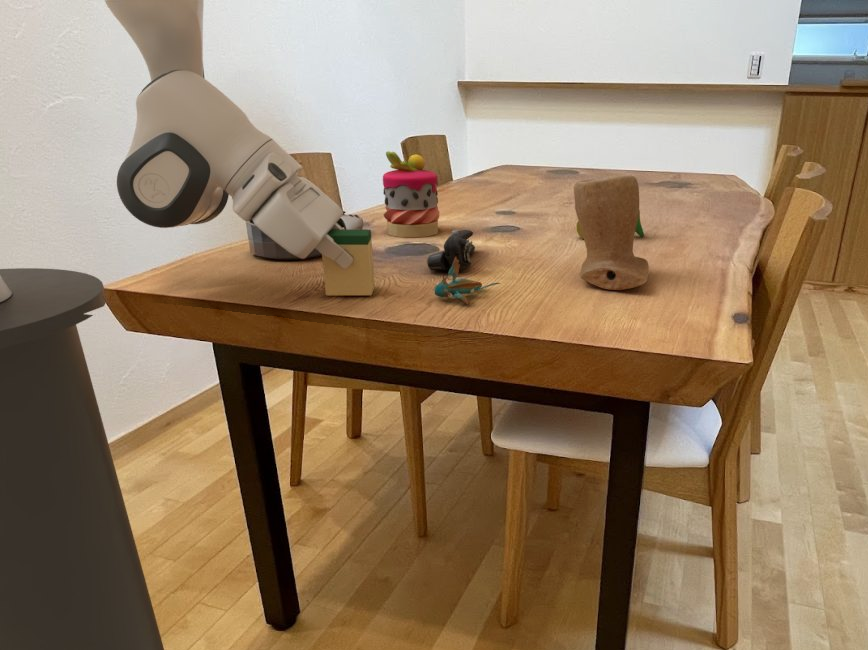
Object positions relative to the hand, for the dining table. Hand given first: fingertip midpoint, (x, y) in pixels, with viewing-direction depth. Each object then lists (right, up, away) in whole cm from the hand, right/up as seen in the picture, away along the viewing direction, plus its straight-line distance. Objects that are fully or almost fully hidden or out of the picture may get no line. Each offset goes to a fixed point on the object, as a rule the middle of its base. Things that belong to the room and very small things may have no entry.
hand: (353, 259), depth 88 cm
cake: (+2, +13, +40) cm, 42 cm away
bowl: (-16, +6, +24) cm, 29 cm away
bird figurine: (+41, +12, +40) cm, 59 cm away
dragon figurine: (+15, -5, +1) cm, 16 cm away
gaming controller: (-12, +12, +38) cm, 42 cm away
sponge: (-1, -4, +2) cm, 4 cm away
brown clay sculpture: (+36, -1, +11) cm, 37 cm away
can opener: (+13, +3, +19) cm, 23 cm away
